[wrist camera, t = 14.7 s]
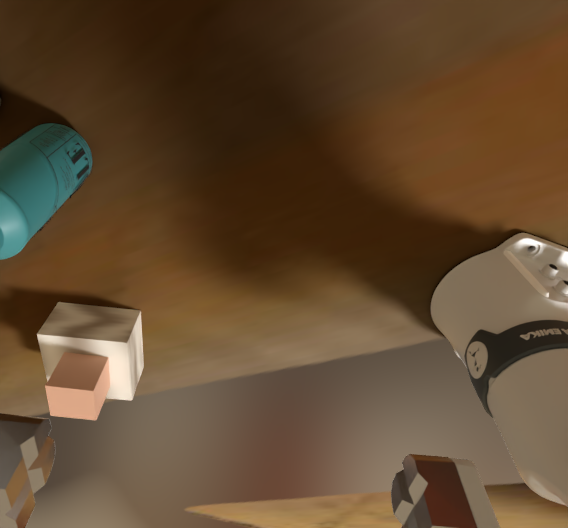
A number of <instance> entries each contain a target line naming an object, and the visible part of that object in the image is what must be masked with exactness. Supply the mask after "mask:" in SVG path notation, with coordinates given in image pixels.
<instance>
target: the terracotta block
mask: <svg viewBox="0 0 568 528" xmlns="http://www.w3.org/2000/svg"><path fill="white" fill-rule="evenodd" d="M45 387H46V393H47V398H48V404H49V409H50V415H51V416H60V417H69V418H79V419H88V420H97V417H98V415H99V412H100V410H101V407H102V405H103V403H104V400H105V398H106V395H107V393H108V391H109V388H110V373H109V357H102V356H94V355H85V354H77V353H68V352H64V354H63V355H62V357H61V359H60V361H59V362H58V364H57V366H56V368H55V369H54V371H53V373H52V375H51V377H50V378H49V380H48V382H47V384H46V385H45Z"/></svg>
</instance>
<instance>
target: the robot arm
mask: <svg viewBox="0 0 568 528" xmlns="http://www.w3.org/2000/svg"><path fill="white" fill-rule="evenodd" d="M530 246H532V247H531V248H529V247H530ZM528 248H529V249H528ZM431 316H432V319H433V322H434V324H435V325H436V327H437V328H438V329H439V330H440V331H441V332H442V333H443V335H444V336H445V337H446V338H447V339H448V341H449V342H450V343H451V345H452V347H453V350H454V351H455V353H456V354H457V356H458V357H459V358H461V359H462V361H463V362H464V364H465V365H466V367H467V369H468V372H469V375H470V379H471V382H472V384H473V386H474V388H475V390H476V393H477V395H478V397H479V399H480V401H481V403H482V405H483V407H484V409H485V410H486V412H487V413H488V414H489V415H490V416H491V417H492V418H494V420H495V422H496V424H497V427H498V429H499V431H500V433H501V435H502V438H503V440H504V442H505V444H506V446H507V448H508V451H509V453H510V455H511V457H512V459H513V461H514V463H515V465H516V468H517V470H518V472H519V474H520V476H521V478H522V479H523V481H524V482H525V483H526V484H527V485H528V486H529V487H530V488H531V489H532V490H533V491H534V492H536V493H537V494H539V495H540V496H542V497H544V498H546V499H548V500H551V501H554V502H556V503H560V504H563V505H567V507H568V248H566V247H563V246H561V245H558V244H555V243H552V242H550V241H547V240H544V239H541V238H539V237H536V236H533V235H530V234H528V233H519V234H516V235H514V236H513V237H511V238H509V239H508V240H506V241H505V242H504V243H502V244H501V245H500V246H498V247H497V248H495V249H493V250H490V251H488V252H485V253H482V254H479V255H476V256H474V257H472V258H470V259H468V260H466V261H464V262H462V263H461V264H459V265H458V266H456V267H455V268H454V269H452V270H451V271H450V272H449V273H448V274H447V275H446V276H445V277H444V278H443V279H442V281H441V282H440V283H439V285H438V286H437V288H436V290H435V292H434V294H433V297H432V301H431ZM51 429H52V427H51V424H50V419H46V418H37V417H28V416H19V415H10V414H1V413H0V528H25V527H26V525H27V523H28V520H29V518H30V516H31V514H32V512H33V510H34V507H35V500H34V497H33V493H35V492H36V491H37V490H39V489H40V488H41V487H42V486H44V485H45V483H46V481H47V479H48V476H49V474H50V472H51V469H52V465H53V462H54V458H55V443H54V440H53V439H51V438H50V437H49V436H48V435H49V433H50V430H51ZM402 464H403V468H404V469H403V470H402V471H400V472H398V473H396V475H395V478H394V480H393V482H392V490H391V499H392V507H393V512H394V515H395V516H396V518H397V519H398V520H399V521H400V523H401V524H402V527H401V528H500V526H499V523H498V521H497V518H496V516H495V513H494V511H493V508H492V506H491V503H490V501H489V498H488V496H487V493H486V491H485V488H484V486H483V483H482V481H481V478H480V476H479V473H478V470H477V468H476V466H475V464H474V463H473V462H472V461H471V460H467V459H455V458H448V457H438V456H426V455H414V454H413V455H412V454H409V455H407V456H406V457H405V458H404V460H403V462H402Z"/></svg>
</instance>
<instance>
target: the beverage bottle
mask: <svg viewBox="0 0 568 528" xmlns="http://www.w3.org/2000/svg"><path fill="white" fill-rule="evenodd" d="M32 127H33V126H32ZM32 127H31V128H32ZM28 130H29V129H28ZM28 130H27V131H28ZM27 131H25V132H27ZM21 135H23V136H21ZM21 135H19V136H20V138H18V137H16V138H17V140H16V139H15V138H14V139H15V141H14V139H13V141H14V142H12V143H9V145H8V143H7V145H8V146H6V147H4V148H3V149H2V150H1V151H0V259H6V258H9V257H12V256H14V255H16V254H17V253H19V252H20V251H21V250H22V249H23V248H24V246H25V245H26V243H27V242H28V241H29V240H30V239H31V237H32V236H33V235H34V234H35V233H36V232H38V230H40V228H41V227H42V226H43V225H45V223H48V222H49V221H48V222H47V220H48V219H49V218H50V217H52V215H53V214H54V213H55V212H57V210H58V208H59V207H60V206H61V205H62V204H63V203H64V202H66V200H67V199H68V197H69V196H70V198H71V196H72V195H73V194H74V193H75V192H76V191H77V190H78V189H79V188H80V187H81V186H82V185H83V184H84V183H83V182H84V180H85V179H86V178H87V177H88V175H89V174H90V171H91V167H92V164H93V163H92V155H91V151H90V148H89V146H88V145H87V143H86V141H85V140H84V139H83V138H82V137H81V136H80V135H79V134H78V133H77V132H76V131H74V130H73V129H71V128H69V127H67V126H64V125H61V124H55V123H46V124H41V125H39V126H36V127H34V128H33V129H32V130H30V131H29V132H27V133H26V134H24V133H22V134H21ZM10 142H11V141H10ZM2 147H3V146H2ZM82 183H83V184H82ZM81 184H82V185H81ZM80 185H81V186H80ZM75 190H76V191H75ZM74 191H75V192H74ZM73 192H74V193H73ZM72 193H73V194H72ZM71 194H72V195H71ZM62 206H63V205H62ZM60 208H61V207H60ZM50 220H51V218H50ZM42 229H43V227H42V228H41V230H42Z"/></svg>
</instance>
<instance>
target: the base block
mask: <svg viewBox="0 0 568 528" xmlns="http://www.w3.org/2000/svg"><path fill="white" fill-rule="evenodd" d="M37 337H38V342H39V346H40V350H41V355H42V359H43V363H44V368H45V372H46V377H47V381H48V380H49V378H50V377H51V375H52V373H53V371H54V369H55V368H56V366H57V364H58V362H59V361H60V359H61V357H62V355H63V354H64V352H68V353H77V354H85V355H94V356H102V357H109V373H110V388H109V391H108V393H107V395H106V398H109V399H121V400H132V399H133V396H134V393H135V390H136V387H137V384H138V382H139V379H140V376H141V373H142V370H143V367H144V362H143V343H142V325H141V310H132V309H122V308H112V307H102V306H93V305H83V304H73V303H63V302H58V303H57V305H56V306H55V308H54V309H53V311H52V312H51V314H50V315H49V317H48V318H47V320H46V321H45V323H44V324H43V326H42V327H41V329H40V330H39V332H38V333H37Z"/></svg>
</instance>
